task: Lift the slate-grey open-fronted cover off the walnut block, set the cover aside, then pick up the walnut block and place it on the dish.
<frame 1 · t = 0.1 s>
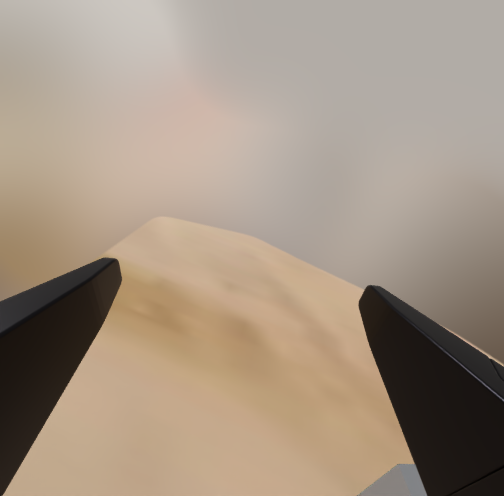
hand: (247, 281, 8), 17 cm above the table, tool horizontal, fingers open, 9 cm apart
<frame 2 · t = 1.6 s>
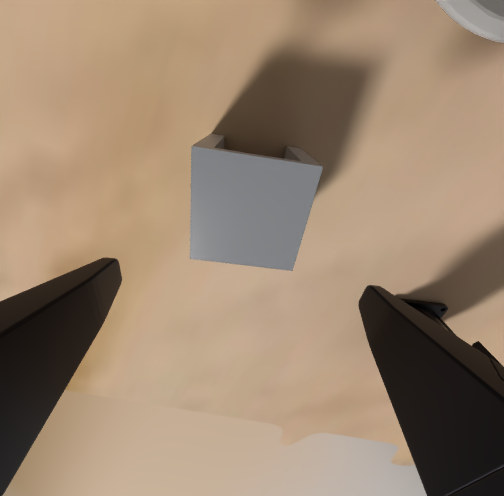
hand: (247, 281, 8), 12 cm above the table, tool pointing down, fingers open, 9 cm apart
grey cover: (249, 185, 19), on the table
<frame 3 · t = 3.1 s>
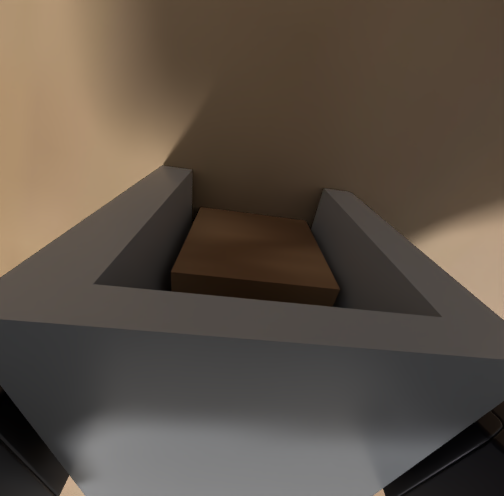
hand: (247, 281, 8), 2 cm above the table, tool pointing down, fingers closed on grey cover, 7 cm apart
grey cover: (247, 257, 10), on the table, touching gripper
walnut block: (247, 256, 10), on the table
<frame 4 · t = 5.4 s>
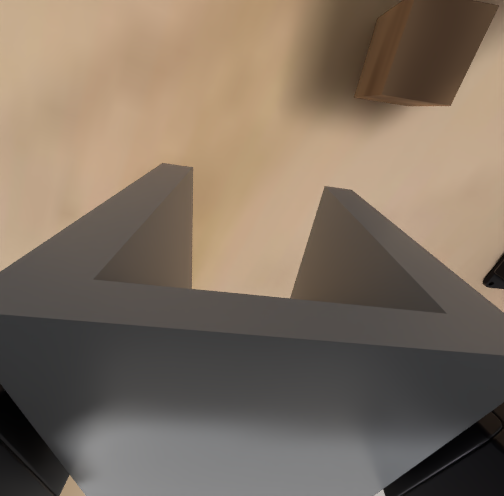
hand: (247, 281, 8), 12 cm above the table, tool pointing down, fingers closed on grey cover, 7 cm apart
grey cover: (247, 256, 10), point 11 cm above the table, touching gripper
walnut block: (393, 65, 15), on the table
when the fingers open (3 cm above the table, at t = 7.8 s): grey cover drops 1 cm, on the table.
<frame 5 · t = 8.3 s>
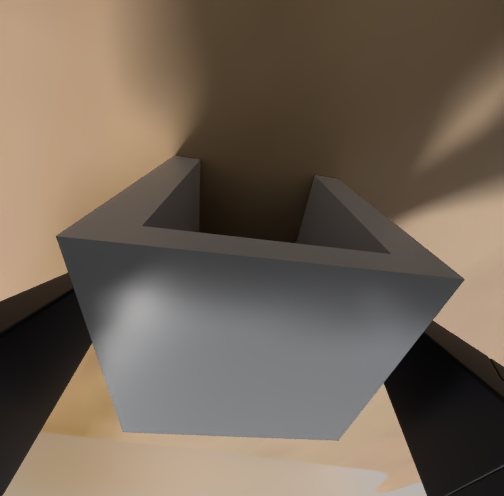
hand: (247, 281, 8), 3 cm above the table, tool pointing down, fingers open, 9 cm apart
grey cover: (248, 239, 11), on the table
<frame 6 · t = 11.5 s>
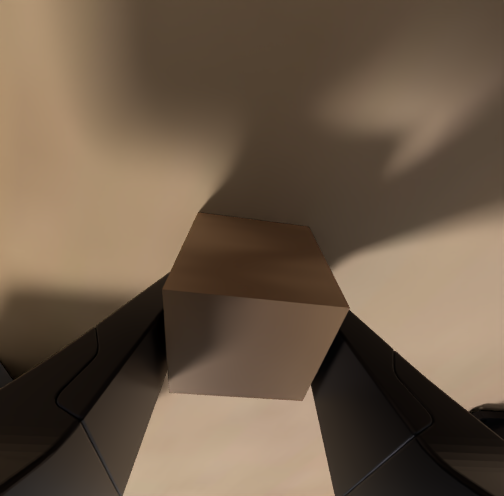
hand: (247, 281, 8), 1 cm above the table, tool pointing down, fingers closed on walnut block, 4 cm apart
walnut block: (247, 264, 9), on the table, touching gripper
when the fingers open (6 cm above the table, at t = 15.5 s): walnut block stays where it is, resting on dish.
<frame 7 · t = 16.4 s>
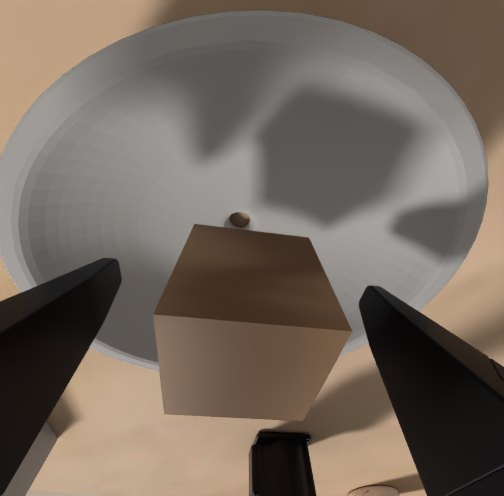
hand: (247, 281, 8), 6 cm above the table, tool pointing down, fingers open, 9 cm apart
grey cover: (17, 424, 26), on the table
dish: (240, 216, 13), on the table, touching walnut block
walnut block: (245, 276, 9), point 5 cm above the table, touching dish
teacup with lid: (379, 490, 41), on the table
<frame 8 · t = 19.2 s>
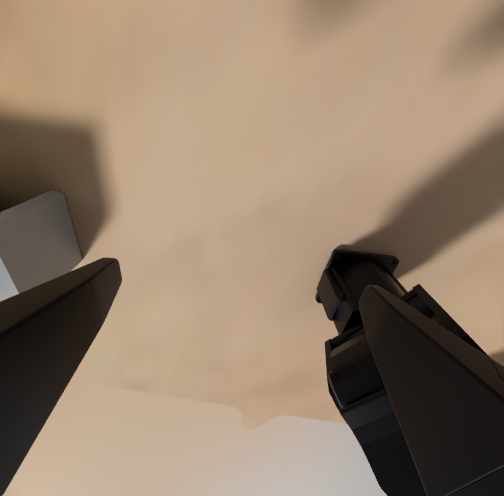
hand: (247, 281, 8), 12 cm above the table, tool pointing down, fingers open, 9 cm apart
grey cover: (33, 224, 20), on the table
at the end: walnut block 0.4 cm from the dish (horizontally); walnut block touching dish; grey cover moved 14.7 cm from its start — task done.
